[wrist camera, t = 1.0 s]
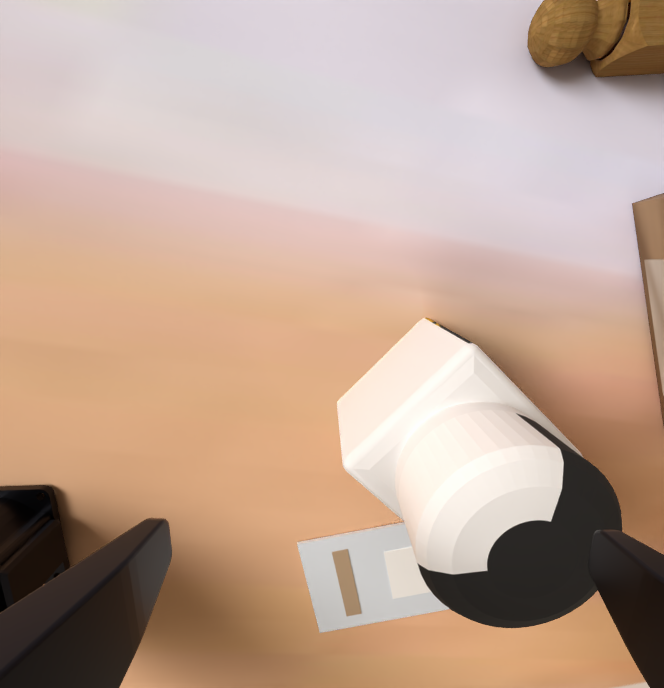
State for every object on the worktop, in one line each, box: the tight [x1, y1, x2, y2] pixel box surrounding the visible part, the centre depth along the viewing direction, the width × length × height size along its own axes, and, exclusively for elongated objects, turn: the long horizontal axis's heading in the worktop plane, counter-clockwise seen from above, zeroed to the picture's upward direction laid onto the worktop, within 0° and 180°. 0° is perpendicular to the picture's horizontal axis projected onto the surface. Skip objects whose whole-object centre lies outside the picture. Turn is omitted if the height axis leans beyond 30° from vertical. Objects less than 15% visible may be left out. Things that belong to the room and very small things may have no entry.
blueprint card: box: [297, 522, 450, 633], centre depth 24 cm, size 10×7×1 cm
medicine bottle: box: [337, 318, 622, 628], centre depth 16 cm, size 7×7×12 cm
